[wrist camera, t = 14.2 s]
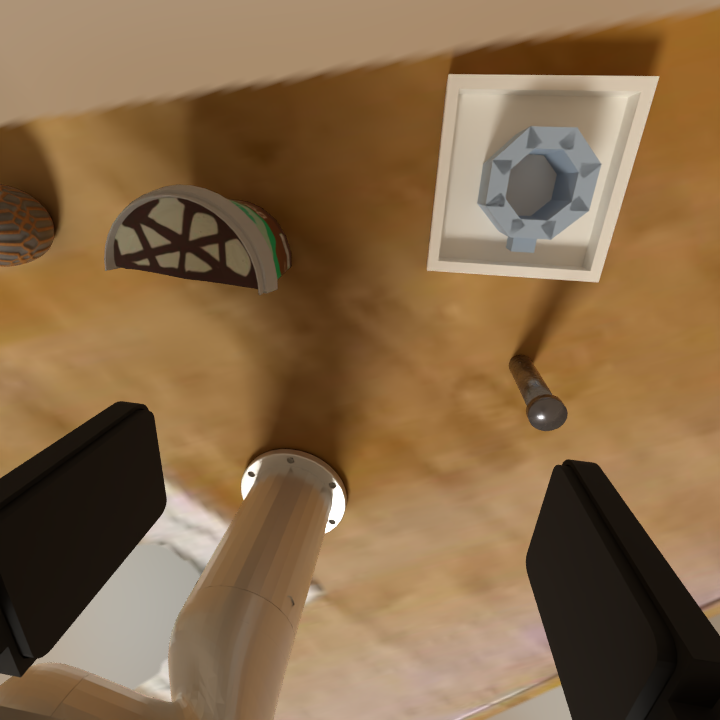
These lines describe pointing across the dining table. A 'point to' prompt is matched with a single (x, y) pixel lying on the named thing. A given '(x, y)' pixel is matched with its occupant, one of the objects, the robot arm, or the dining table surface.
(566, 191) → the ring
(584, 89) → the tray
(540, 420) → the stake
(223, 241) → the food container
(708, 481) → the dining table surface
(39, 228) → the vase
